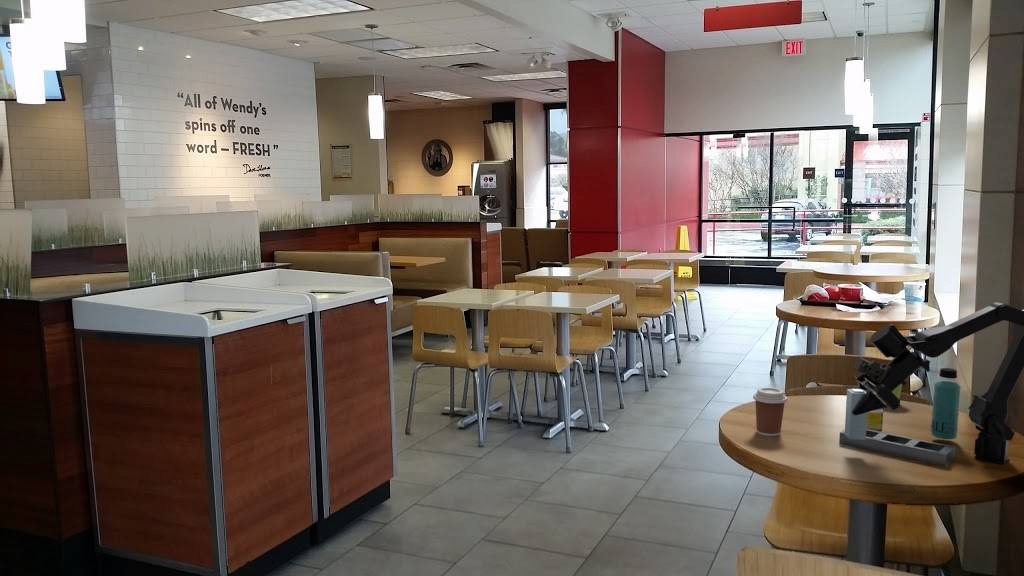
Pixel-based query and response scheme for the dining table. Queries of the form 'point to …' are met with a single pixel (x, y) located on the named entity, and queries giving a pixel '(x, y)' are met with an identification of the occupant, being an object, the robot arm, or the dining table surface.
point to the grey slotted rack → (903, 447)
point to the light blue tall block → (858, 423)
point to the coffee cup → (769, 410)
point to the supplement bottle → (875, 420)
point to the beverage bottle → (945, 406)
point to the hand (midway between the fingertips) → (850, 411)
